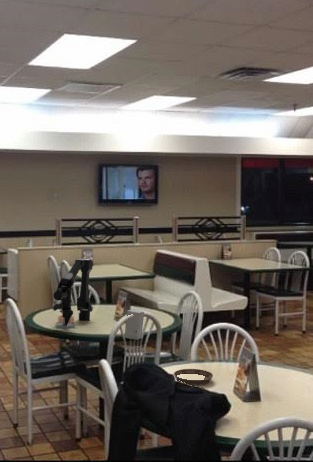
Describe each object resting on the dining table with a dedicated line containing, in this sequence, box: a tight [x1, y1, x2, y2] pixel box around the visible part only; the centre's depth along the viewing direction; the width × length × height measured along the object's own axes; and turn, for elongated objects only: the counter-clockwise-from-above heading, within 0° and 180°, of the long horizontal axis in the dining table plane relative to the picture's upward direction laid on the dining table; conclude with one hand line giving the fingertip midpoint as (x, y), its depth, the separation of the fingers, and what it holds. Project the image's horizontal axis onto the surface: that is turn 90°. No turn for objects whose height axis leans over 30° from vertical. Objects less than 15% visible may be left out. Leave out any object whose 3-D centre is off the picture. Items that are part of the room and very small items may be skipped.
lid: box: [55, 317, 76, 329], centre depth 379 cm, size 12×12×5 cm
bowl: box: [57, 314, 75, 324], centre depth 391 cm, size 10×10×4 cm
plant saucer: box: [173, 368, 214, 385], centre depth 282 cm, size 18×18×3 cm
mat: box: [53, 323, 77, 330], centre depth 379 cm, size 12×12×1 cm
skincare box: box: [124, 309, 145, 341], centre depth 358 cm, size 8×7×16 cm
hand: (65, 323), depth 379 cm, fingers open, 6 cm apart
